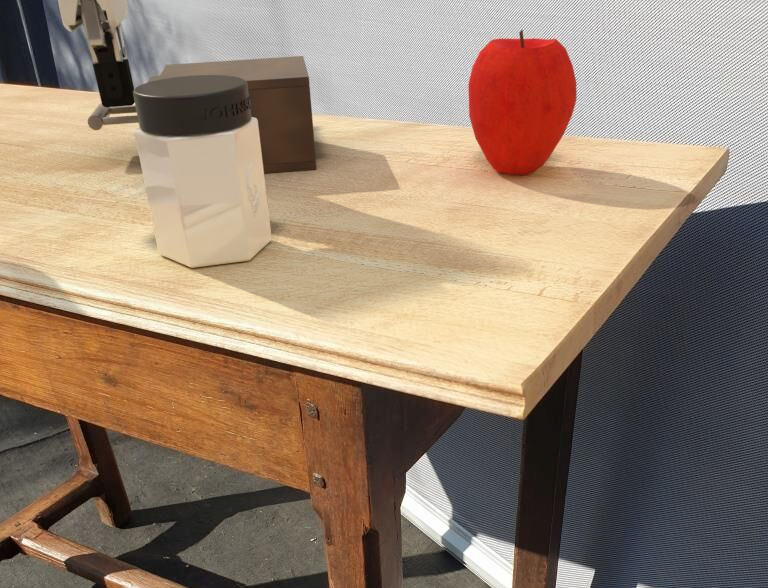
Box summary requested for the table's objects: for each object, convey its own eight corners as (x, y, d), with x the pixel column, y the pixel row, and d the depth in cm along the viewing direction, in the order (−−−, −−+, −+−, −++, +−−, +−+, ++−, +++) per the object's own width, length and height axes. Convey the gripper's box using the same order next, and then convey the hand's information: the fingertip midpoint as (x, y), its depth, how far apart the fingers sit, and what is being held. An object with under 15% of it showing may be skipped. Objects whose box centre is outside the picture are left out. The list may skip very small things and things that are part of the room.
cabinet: (170, 180, 83) (153, 86, 78) (180, 149, 93) (165, 64, 88) (316, 169, 84) (308, 76, 79) (310, 139, 94) (303, 55, 89)
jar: (241, 272, 62) (216, 98, 55) (143, 265, 64) (107, 97, 57) (284, 232, 69) (267, 73, 62) (195, 227, 71) (168, 72, 64)
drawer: (93, 175, 82) (76, 101, 78) (110, 146, 91) (95, 79, 88) (287, 160, 84) (280, 87, 80) (285, 134, 93) (278, 67, 89)
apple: (573, 157, 84) (585, 21, 77) (566, 186, 76) (578, 37, 69) (475, 155, 86) (478, 22, 79) (458, 183, 78) (459, 38, 71)
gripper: (46, -114, 79) (94, 93, 90) (7, -115, 67) (68, 124, 78) (126, -119, 80) (164, 87, 90) (101, -121, 68) (149, 118, 78)
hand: (119, 104), depth 84 cm, fingers closed
